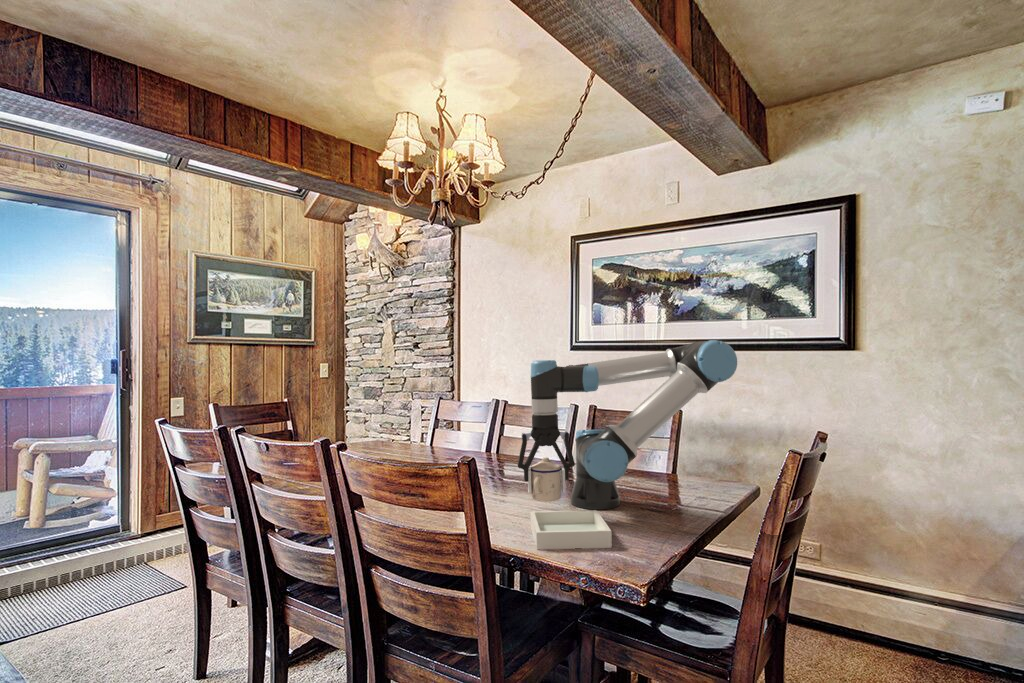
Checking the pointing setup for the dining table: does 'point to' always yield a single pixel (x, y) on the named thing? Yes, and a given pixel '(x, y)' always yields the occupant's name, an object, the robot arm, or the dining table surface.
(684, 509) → the dining table surface
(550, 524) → the tray
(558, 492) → the teacup with lid
